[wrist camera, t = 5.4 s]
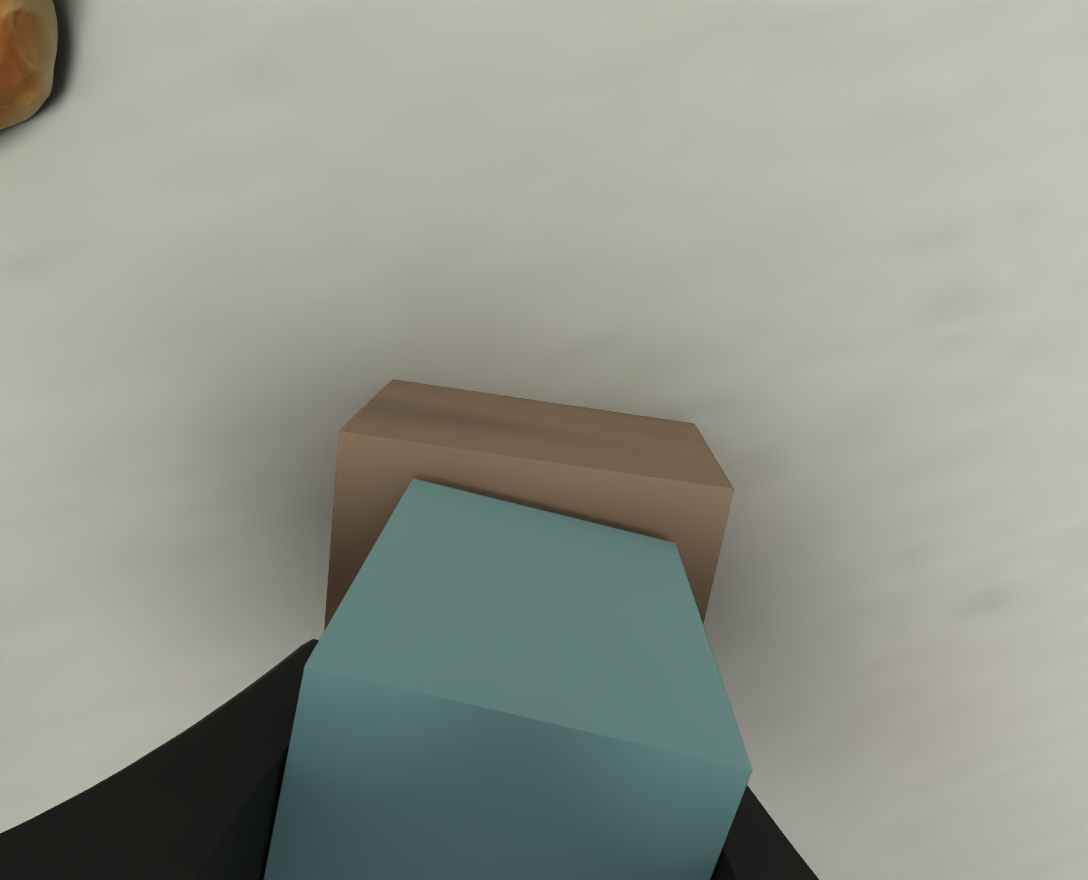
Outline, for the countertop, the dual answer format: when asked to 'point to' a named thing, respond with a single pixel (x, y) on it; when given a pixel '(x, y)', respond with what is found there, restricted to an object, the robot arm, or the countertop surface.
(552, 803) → the teal block
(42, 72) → the pastry
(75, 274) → the countertop surface
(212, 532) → the countertop surface
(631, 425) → the walnut block
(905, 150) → the countertop surface
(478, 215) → the countertop surface
